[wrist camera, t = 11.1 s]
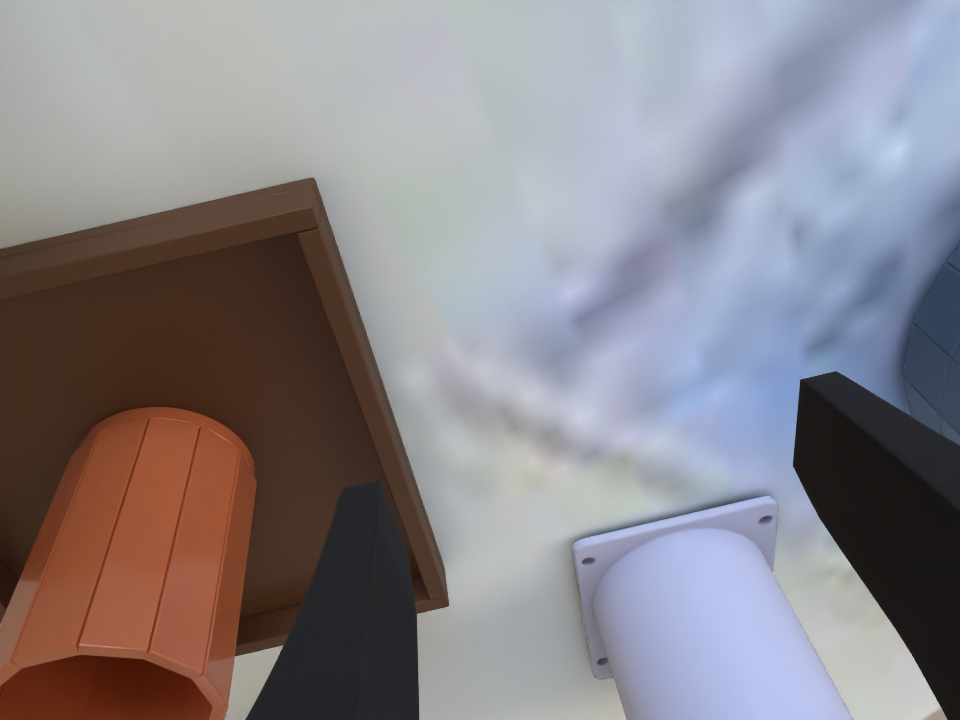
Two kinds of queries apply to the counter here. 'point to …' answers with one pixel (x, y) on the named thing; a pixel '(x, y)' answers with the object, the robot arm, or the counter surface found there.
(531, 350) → the counter surface
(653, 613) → the robot arm
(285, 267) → the tray
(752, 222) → the counter surface
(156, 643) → the cup
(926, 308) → the bowl
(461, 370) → the counter surface
